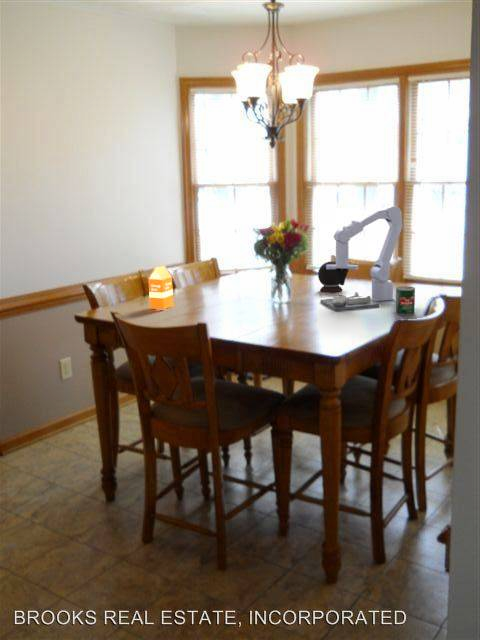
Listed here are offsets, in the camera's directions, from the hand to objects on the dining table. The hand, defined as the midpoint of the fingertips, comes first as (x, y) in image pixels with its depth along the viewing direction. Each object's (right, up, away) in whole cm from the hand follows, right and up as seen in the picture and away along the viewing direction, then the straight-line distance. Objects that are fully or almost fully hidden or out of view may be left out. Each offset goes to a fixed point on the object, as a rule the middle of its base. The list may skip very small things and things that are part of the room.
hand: (342, 284), depth 321 cm
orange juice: (-84, -11, +5) cm, 85 cm away
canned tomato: (+24, -14, -23) cm, 36 cm away
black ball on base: (-1, -2, +30) cm, 30 cm away
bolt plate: (+3, -9, -4) cm, 10 cm away
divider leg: (+4, -8, -3) cm, 9 cm away
